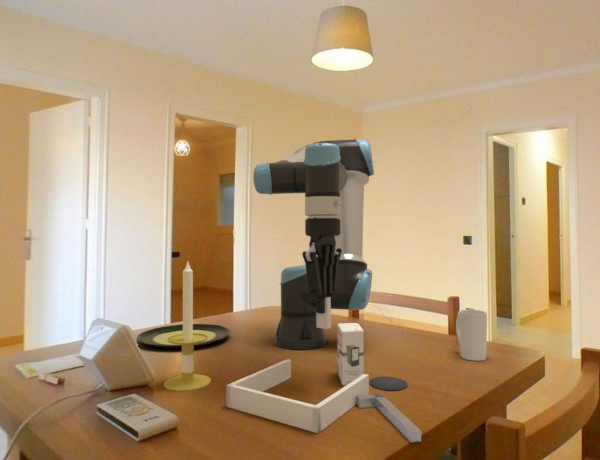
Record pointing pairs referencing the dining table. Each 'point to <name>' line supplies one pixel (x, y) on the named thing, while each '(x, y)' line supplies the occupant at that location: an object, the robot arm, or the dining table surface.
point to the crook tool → (391, 415)
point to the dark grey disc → (388, 383)
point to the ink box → (350, 352)
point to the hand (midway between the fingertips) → (323, 327)
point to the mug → (472, 334)
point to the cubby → (289, 411)
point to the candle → (187, 343)
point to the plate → (161, 334)
